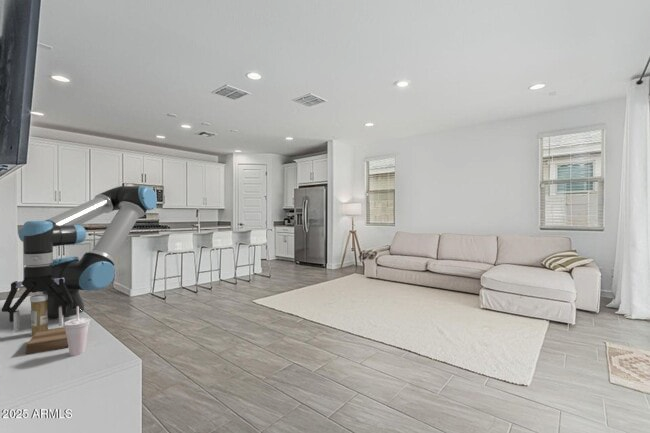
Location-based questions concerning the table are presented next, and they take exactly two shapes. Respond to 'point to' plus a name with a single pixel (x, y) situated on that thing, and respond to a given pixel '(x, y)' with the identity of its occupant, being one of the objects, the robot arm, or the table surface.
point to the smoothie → (77, 334)
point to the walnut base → (47, 340)
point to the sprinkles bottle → (39, 313)
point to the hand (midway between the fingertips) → (39, 327)
